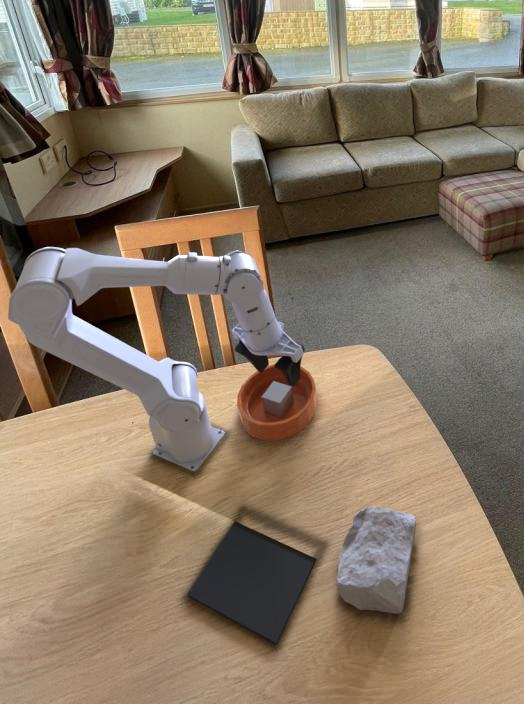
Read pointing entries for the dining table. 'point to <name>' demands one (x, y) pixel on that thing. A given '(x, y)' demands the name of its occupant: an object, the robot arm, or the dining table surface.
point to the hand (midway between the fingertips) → (279, 374)
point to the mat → (253, 581)
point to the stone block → (376, 559)
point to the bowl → (271, 425)
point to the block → (277, 399)
